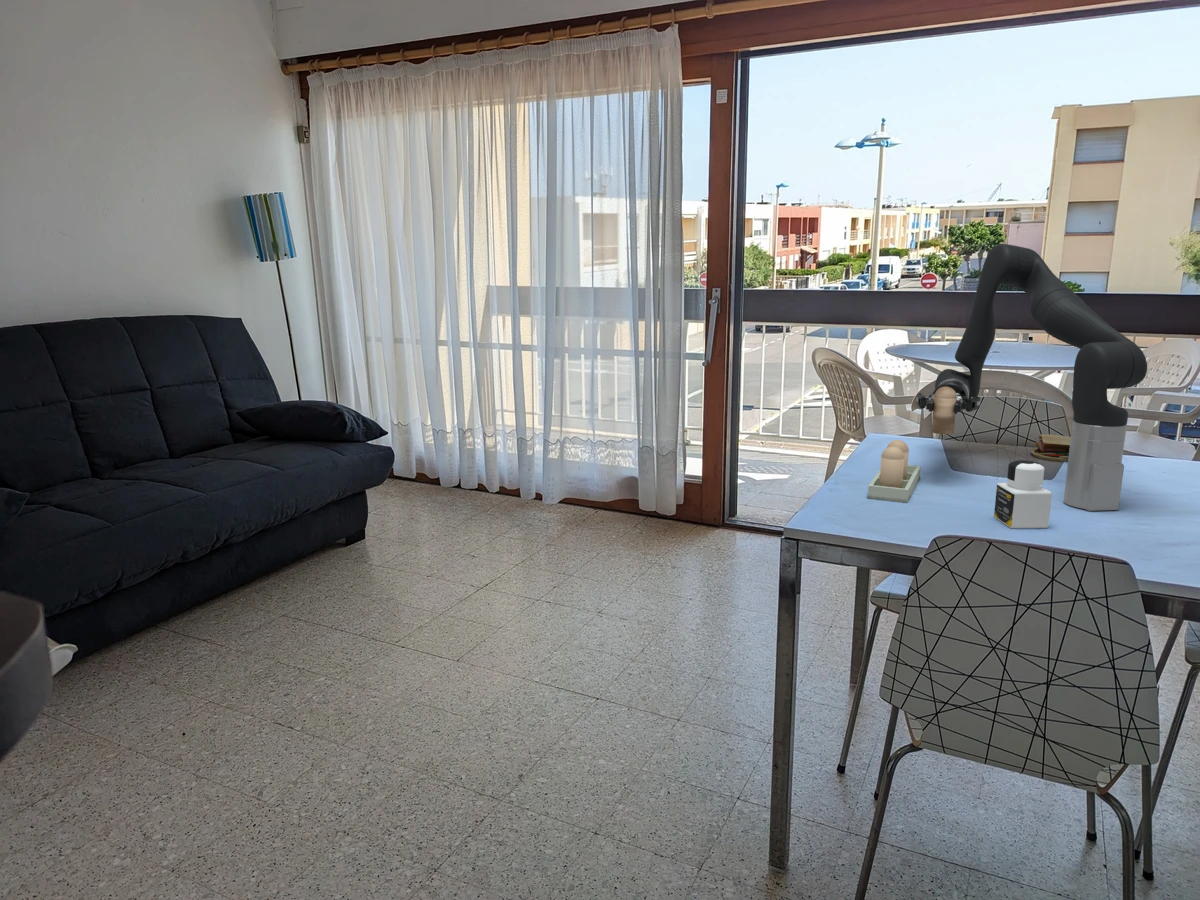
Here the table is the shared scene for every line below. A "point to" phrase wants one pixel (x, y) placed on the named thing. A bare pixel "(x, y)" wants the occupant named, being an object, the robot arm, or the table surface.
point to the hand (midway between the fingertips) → (943, 407)
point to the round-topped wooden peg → (944, 411)
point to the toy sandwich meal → (1052, 447)
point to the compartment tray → (894, 475)
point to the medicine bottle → (1023, 497)
